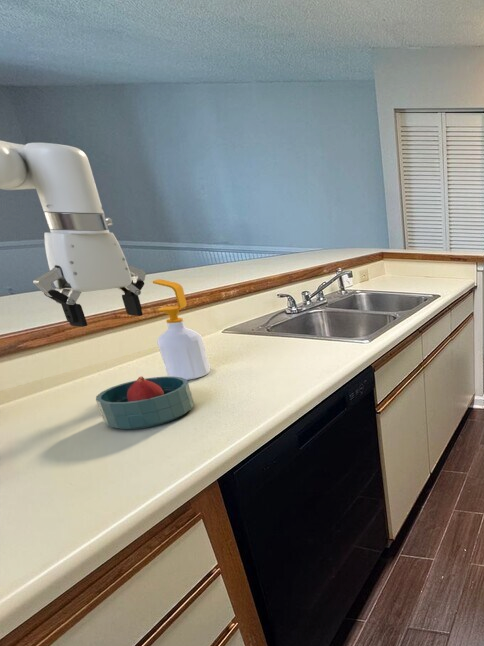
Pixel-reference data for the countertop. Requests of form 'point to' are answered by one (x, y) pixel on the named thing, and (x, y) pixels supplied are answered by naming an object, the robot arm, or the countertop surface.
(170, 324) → the soap bottle
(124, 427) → the bowl
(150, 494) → the countertop surface
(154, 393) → the onion
